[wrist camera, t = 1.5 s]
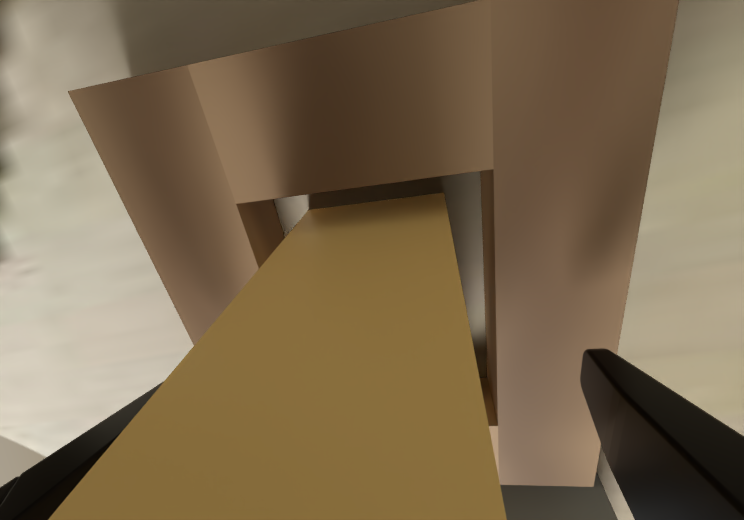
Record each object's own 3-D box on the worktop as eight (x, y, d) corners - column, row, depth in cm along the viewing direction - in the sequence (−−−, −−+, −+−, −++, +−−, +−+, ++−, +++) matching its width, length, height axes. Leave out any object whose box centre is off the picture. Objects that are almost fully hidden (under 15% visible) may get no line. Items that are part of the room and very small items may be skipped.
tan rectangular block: (443, 192, 10) (626, 1125, 1) (457, 356, 13) (542, 1023, 4) (308, 209, 11) (-231, 850, 2) (347, 361, 13) (202, 924, 4)
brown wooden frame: (624, -18, 7) (687, -47, 6) (571, 433, 13) (593, 486, 12) (132, 88, 10) (68, 91, 8) (278, 433, 16) (260, 479, 14)
